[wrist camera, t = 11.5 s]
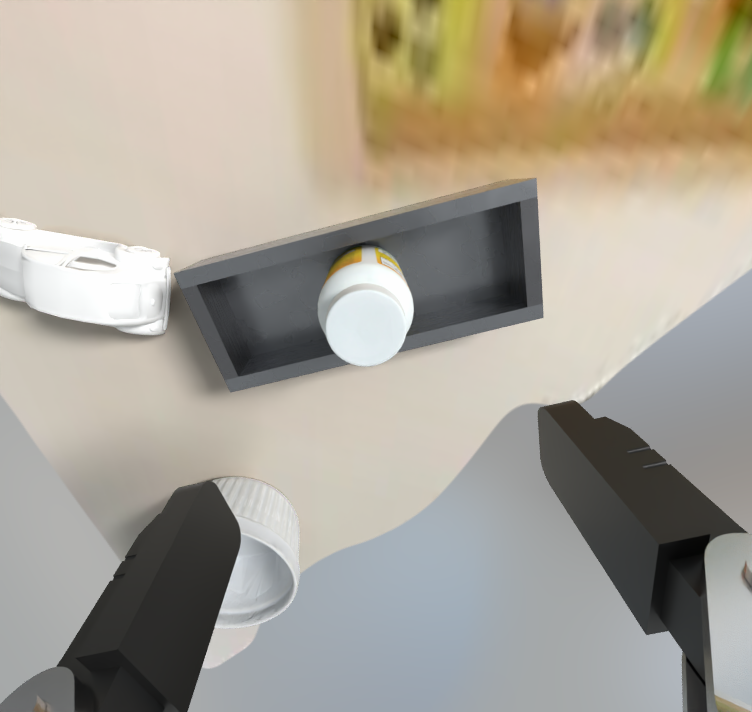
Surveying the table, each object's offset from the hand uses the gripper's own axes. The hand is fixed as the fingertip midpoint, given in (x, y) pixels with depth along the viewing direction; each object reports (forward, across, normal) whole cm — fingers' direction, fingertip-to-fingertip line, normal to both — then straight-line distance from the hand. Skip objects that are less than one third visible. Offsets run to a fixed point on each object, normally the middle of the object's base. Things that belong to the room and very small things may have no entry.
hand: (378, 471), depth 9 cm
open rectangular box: (+20, 0, 0) cm, 20 cm away
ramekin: (+20, +18, +20) cm, 34 cm away
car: (+21, +19, -5) cm, 29 cm away
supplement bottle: (+19, 0, 0) cm, 19 cm away
